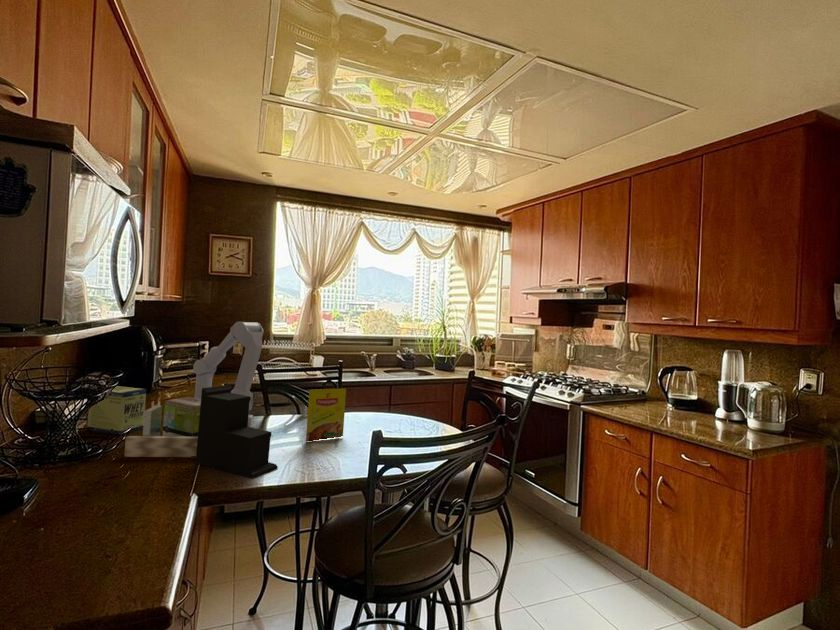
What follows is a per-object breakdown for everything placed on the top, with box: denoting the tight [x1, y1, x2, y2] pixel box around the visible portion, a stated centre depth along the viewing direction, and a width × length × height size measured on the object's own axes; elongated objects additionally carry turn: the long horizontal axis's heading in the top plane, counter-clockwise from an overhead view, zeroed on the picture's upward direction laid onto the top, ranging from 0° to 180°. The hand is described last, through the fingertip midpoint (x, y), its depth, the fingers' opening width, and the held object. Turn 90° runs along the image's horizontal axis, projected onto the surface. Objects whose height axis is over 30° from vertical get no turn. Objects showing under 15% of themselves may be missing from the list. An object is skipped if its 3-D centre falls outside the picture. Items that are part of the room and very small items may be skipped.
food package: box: [305, 388, 347, 442], centre depth 169 cm, size 15×1×20 cm, turn 126°
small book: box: [142, 405, 163, 436], centre depth 144 cm, size 2×9×14 cm, turn 11°
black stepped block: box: [195, 384, 278, 479], centre depth 134 cm, size 23×11×24 cm, turn 66°
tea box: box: [162, 396, 201, 437], centre depth 156 cm, size 15×10×15 cm
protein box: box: [86, 385, 147, 435], centre depth 165 cm, size 10×16×16 cm
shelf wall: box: [124, 435, 198, 458], centre depth 140 cm, size 26×2×6 cm, turn 101°
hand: (200, 425), depth 170 cm, fingers closed
